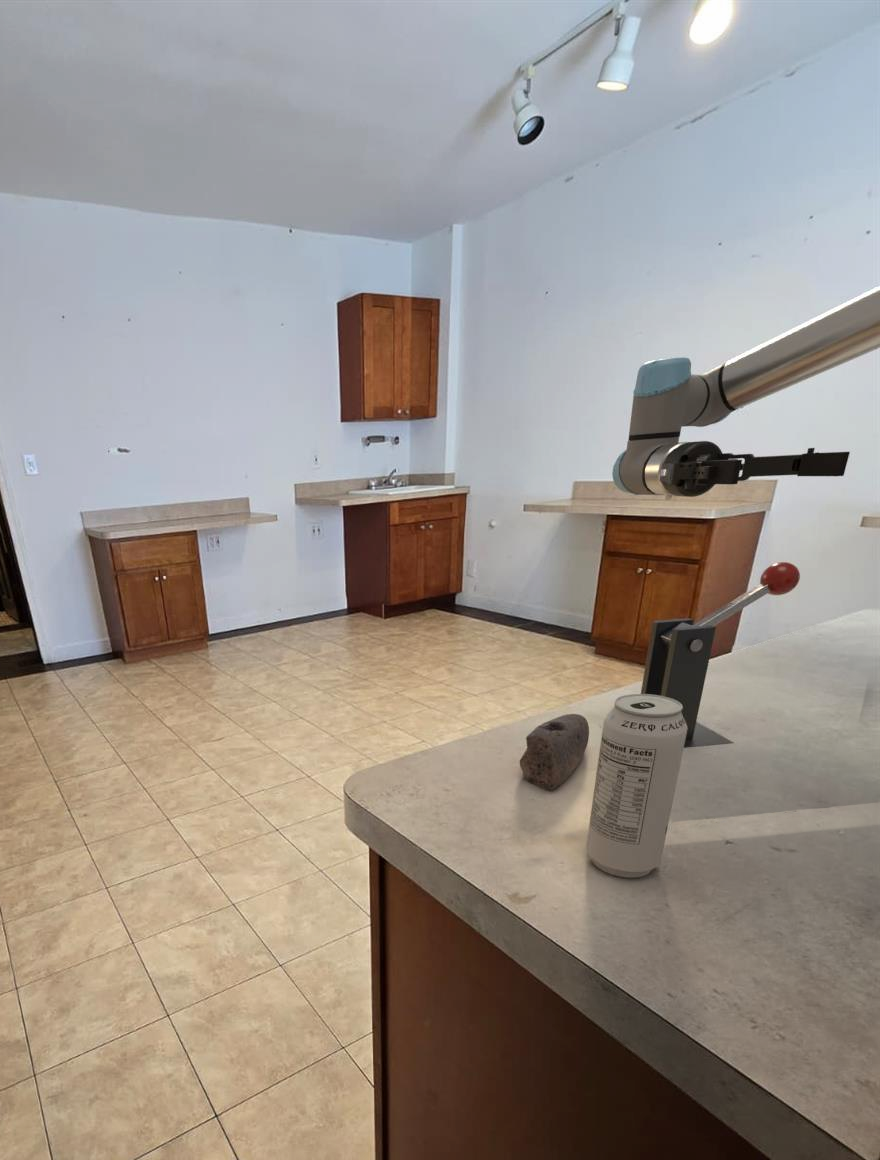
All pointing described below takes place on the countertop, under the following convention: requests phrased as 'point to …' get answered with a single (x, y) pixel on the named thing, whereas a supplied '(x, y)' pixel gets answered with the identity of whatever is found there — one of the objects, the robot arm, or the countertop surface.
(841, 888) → the countertop surface
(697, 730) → the bracket
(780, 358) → the robot arm
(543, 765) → the perforated stone tool
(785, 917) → the countertop surface
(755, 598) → the red knob lever
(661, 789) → the energy drink can
